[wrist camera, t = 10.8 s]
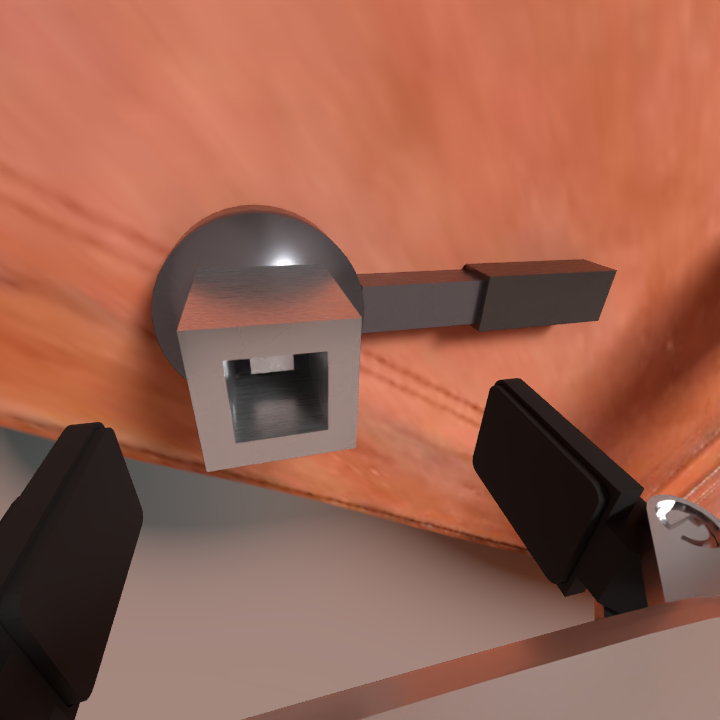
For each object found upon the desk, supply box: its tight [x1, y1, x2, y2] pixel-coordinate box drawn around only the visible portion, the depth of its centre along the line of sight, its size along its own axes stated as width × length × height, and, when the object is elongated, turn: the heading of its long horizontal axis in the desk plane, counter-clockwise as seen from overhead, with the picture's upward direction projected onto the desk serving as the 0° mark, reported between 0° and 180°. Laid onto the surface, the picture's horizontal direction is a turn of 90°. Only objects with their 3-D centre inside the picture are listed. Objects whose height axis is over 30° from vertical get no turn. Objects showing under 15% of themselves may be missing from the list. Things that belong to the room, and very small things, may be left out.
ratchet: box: [152, 205, 617, 380], centre depth 18 cm, size 24×9×6 cm, turn 87°
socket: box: [177, 264, 362, 472], centre depth 14 cm, size 5×5×6 cm
